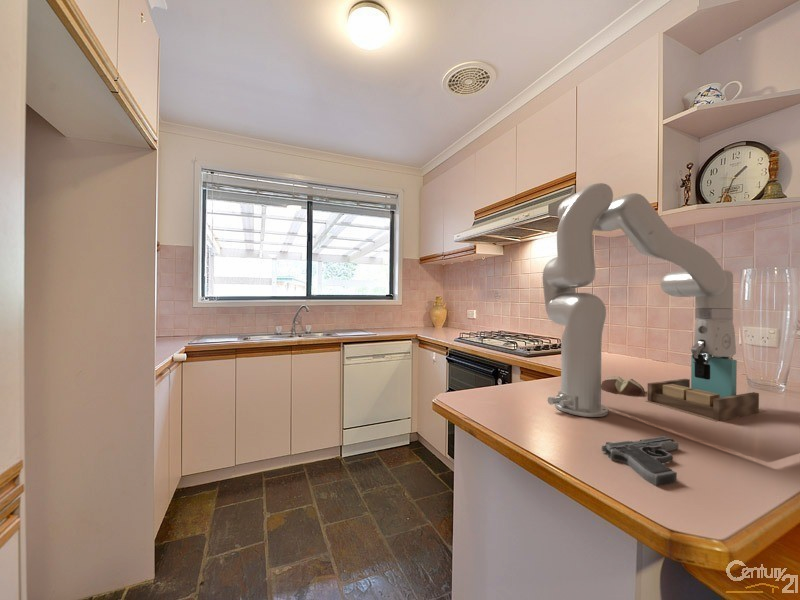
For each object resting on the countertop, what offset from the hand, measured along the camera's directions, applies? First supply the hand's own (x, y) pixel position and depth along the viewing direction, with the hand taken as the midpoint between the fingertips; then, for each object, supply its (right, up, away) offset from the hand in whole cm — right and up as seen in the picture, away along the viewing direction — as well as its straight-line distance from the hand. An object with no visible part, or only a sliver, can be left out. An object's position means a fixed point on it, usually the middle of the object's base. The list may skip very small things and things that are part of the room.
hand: (713, 376), depth 89 cm
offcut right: (-9, -8, -6) cm, 13 cm away
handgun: (-39, -9, -29) cm, 50 cm away
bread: (-16, -9, +13) cm, 23 cm away
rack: (-4, -9, -1) cm, 10 cm away
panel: (0, -8, 0) cm, 8 cm away
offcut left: (-11, -8, -1) cm, 13 cm away
